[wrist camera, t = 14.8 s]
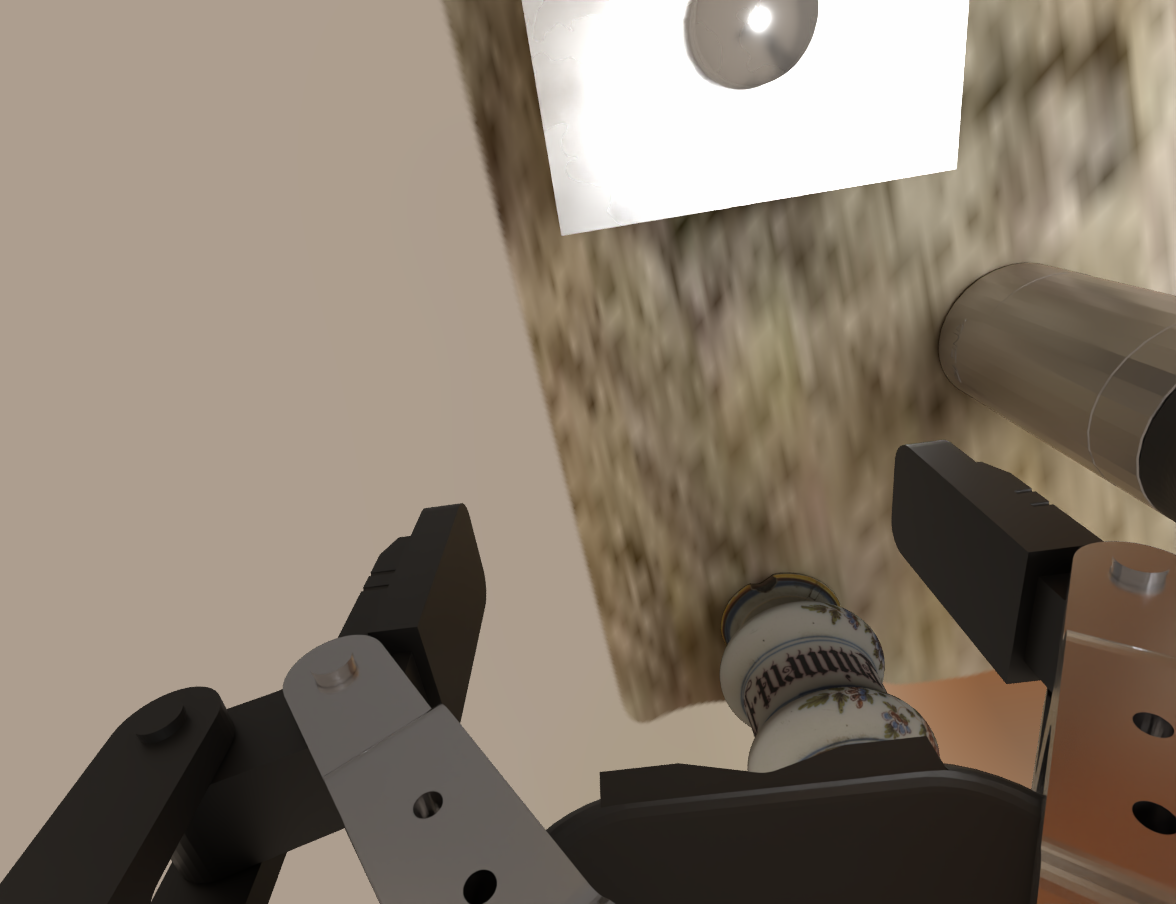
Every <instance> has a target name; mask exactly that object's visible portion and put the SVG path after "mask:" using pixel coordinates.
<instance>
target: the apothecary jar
mask: <svg viewBox="0 0 1176 904" xmlns="http://www.w3.org/2000/svg"><path fill="white" fill-rule="evenodd" d="M721 633H722V637H723V640H724V643H725V645H726V646H727V647H726V649H725V651H724V654H723V657H722V660H721V665H720V684H721V689H722V692H723V695H724V697H725V700H726V702H727V703H728V705H729V707H730V708H731V710H732V711H733V712H734V713H735V715H736V716H737V717H738V718H739V719H740V720H742V721H743V722H744V723H745V724H747V725H748V726H750V727H751V728H752V730H753V733H754V736H755V739H754V741H753V743H752V746H751V749H750V752H749V757H748V771H749V772H758V773H766V772H772V771H775V770H778V769H781V768H783V767H786V766H789V765H792V764H794V763H797V762H800V761H802V760H805V759H808V758H811V757H813V756H816V755H819V754H821V753H824V752H827V751H830V750H832V749H835V748H838V747H840V746H843V745H849V744H858V743H867V742H876V741H885V740H894V739H903V738H912V737H921V736H927V737H928V739H929V741H930V742H931V744H932V746H933V747H934V749H935V751H936V752H937V754H938V756H939V757H940V755H939V748H938V744H937V741H936V738H935V736H934V734H933V732H932V730H931V728H930V727H929V725H928V724H927V722H926V721H925V720H924V719H923V717H922V716H921V715H920V714H919V713H918V712H917V711H916V710H915V709H914V708H912V707H911V706H910V705H908V704H907V703H905V702H904V701H902V700H901V699H899V698H897V697H895V696H893V695H890V694H888V693H887V692H886V689H885V688H884V686H883V684H882V683H883V678H884V670H885V662H884V655H883V650H882V647H881V645H880V642H879V640H878V638H877V636H876V635H875V633H874V632H873V631H872V629H871V628H870V627H869V626H868V625H867V624H866V623H865V622H864V621H863V620H862V619H861V618H859V617H858V616H856V615H855V614H853V613H852V612H850V611H848V610H846V609H844V608H841V606H840V603H839V601H838V599H837V597H836V595H835V594H834V593H833V592H832V590H831V589H830V588H829V587H827V586H826V585H825V584H824V583H822V582H821V581H819V580H816V579H814V578H812V577H809V576H806V575H801V574H793V573H784V574H775V575H772V576H771V577H770V578H768V579H767V580H765V581H764V582H763V583H761V584H748V585H747V586H745V587H744V588H742V589H741V590H740V591H739V592H738V593H736V594H735V595H734V596H733V597H732V598H731V600H730V601H729V603H728V605H727V606H726V608H725V610H724V613H723V616H722V620H721Z"/></svg>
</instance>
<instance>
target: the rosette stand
mask: <svg viewBox="0 0 1176 904" xmlns="http://www.w3.org/2000/svg"><path fill="white" fill-rule="evenodd" d="M522 5H523V11H524V17H525V23H526V29H527V35H528V41H529V46H530V52H531V58H532V64H533V70H534V76H535V82H536V88H537V94H538V100H539V106H540V111H541V117H542V123H543V129H544V135H545V141H546V147H547V153H548V159H549V165H550V171H551V177H552V182H553V188H554V194H555V200H556V206H557V212H558V218H559V224H560V230H561V236H564V235H570V234H576V233H582V232H588V231H594V230H600V229H606V228H612V227H617V226H623V225H629V224H635V223H641V222H647V221H653V220H659V219H665V218H670V217H676V216H682V215H688V214H694V213H700V212H706V211H712V210H718V209H724V208H729V207H735V206H741V205H747V204H753V203H759V202H765V201H771V200H777V199H782V198H788V197H794V196H800V195H806V194H812V193H818V192H824V191H830V190H836V189H841V188H847V187H853V186H859V185H865V184H871V183H877V182H883V181H889V180H894V179H900V178H906V177H912V176H918V175H924V174H930V173H936V172H942V171H948V170H953V169H957V155H958V141H959V128H960V114H961V101H962V87H963V73H964V60H965V46H966V33H967V19H968V5H969V0H522Z"/></svg>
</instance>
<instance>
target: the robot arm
mask: <svg viewBox="0 0 1176 904" xmlns="http://www.w3.org/2000/svg"><path fill="white" fill-rule="evenodd" d="M939 358H940V362H941V365H942V369H943V371H944V373H945V374H946V376H947V378H948V379H949V381H950V382H952V383H953V384H954V385H955V386H956V387H957V388H958V389H959V390H961V391H963V392H964V393H966V394H968V395H969V396H971V397H973V398H974V399H976V400H977V401H979V402H981V403H982V404H984V405H986V406H987V407H989V408H990V409H992V410H993V411H995V412H996V413H998V414H1000V415H1001V416H1003V417H1004V418H1006V419H1008V420H1009V421H1011V422H1013V423H1014V424H1016V425H1017V426H1019V427H1021V428H1022V429H1024V430H1026V431H1027V432H1029V433H1030V434H1032V435H1034V436H1035V437H1037V438H1039V439H1040V440H1042V441H1044V442H1045V443H1047V444H1048V445H1050V446H1052V447H1053V448H1055V449H1057V450H1058V451H1060V452H1061V453H1063V454H1065V455H1066V456H1068V457H1070V458H1071V459H1073V460H1074V461H1076V462H1078V463H1079V464H1081V465H1083V466H1084V467H1086V468H1087V469H1089V470H1091V471H1092V472H1094V473H1096V474H1097V475H1099V476H1100V477H1102V478H1104V479H1105V480H1107V481H1109V482H1110V483H1112V484H1113V485H1115V486H1117V487H1119V488H1120V489H1122V490H1124V491H1125V492H1127V493H1129V494H1130V495H1132V496H1134V497H1135V498H1137V499H1138V500H1140V501H1142V502H1143V503H1145V504H1147V505H1148V506H1150V507H1151V508H1153V509H1155V510H1156V511H1158V512H1160V513H1161V514H1163V515H1164V516H1166V517H1168V518H1169V519H1171V520H1173V521H1174V522H1176V296H1174V295H1170V294H1166V293H1162V292H1157V291H1153V290H1149V289H1145V288H1140V287H1136V286H1132V285H1127V284H1123V283H1119V282H1115V281H1110V280H1106V279H1102V278H1097V277H1093V276H1090V275H1086V274H1082V273H1078V272H1073V271H1069V270H1065V269H1060V268H1056V267H1052V266H1048V265H1043V264H1037V263H1020V264H1013V265H1008V266H1006V267H1003V268H1000V269H997V270H994V271H993V272H991V273H989V274H987V275H985V276H984V277H982V278H980V279H979V280H978V281H976V282H975V283H974V284H973V285H971V286H970V287H969V288H968V289H966V291H965V292H964V293H963V294H962V295H961V296H960V297H959V299H958V300H957V301H956V302H955V303H954V305H953V307H952V308H951V310H950V312H949V313H948V315H947V317H946V319H945V322H944V324H943V327H942V329H941V334H940V340H939ZM892 532H893V536H894V540H895V543H896V545H897V547H898V549H899V551H900V553H901V554H902V556H903V557H904V558H905V559H906V561H907V562H908V563H909V564H910V566H911V567H912V568H913V569H914V570H915V572H916V573H917V574H918V575H919V577H920V578H921V579H922V580H923V582H924V583H925V584H926V585H927V587H928V588H929V589H930V590H931V591H932V593H933V594H934V595H935V596H936V598H937V599H938V600H939V601H940V603H941V604H942V605H943V606H944V608H945V609H946V610H947V611H948V612H949V614H950V615H951V616H952V617H953V619H954V620H955V621H956V622H957V624H958V625H959V626H960V627H961V629H962V630H963V631H964V632H965V633H966V635H967V636H968V637H969V638H970V640H971V641H972V642H973V643H974V645H975V646H976V647H977V648H978V650H979V651H980V652H981V653H982V654H983V656H984V657H985V658H986V659H987V661H988V662H989V663H990V664H991V666H992V667H993V668H994V669H995V671H996V672H997V673H998V674H999V675H1000V677H1001V678H1002V679H1003V680H1004V682H1005V683H1006V684H1011V683H1021V682H1029V681H1038V680H1041V681H1042V682H1043V683H1044V684H1045V685H1046V687H1047V691H1046V696H1045V701H1044V706H1043V712H1042V720H1041V726H1040V734H1039V741H1038V747H1037V754H1036V761H1035V768H1034V775H1033V781H1032V788H1031V789H1029V788H1026V787H1025V786H1022V785H1020V784H1018V783H1015V782H1012V781H1010V780H1007V779H1005V778H1002V777H1000V776H997V775H993V774H990V773H987V772H983V771H980V770H977V769H972V768H968V767H962V766H958V765H953V764H944V763H943V762H942V761H941V759H940V757H939V756H938V754H937V752H936V751H935V749H934V747H933V746H932V744H931V742H930V741H929V739H928V737H927V736H921V737H912V738H903V739H894V740H885V741H876V742H867V743H858V744H849V745H843V746H840V747H838V748H835V749H832V750H830V751H827V752H824V753H821V754H819V755H816V756H813V757H811V758H808V759H805V760H802V761H800V762H797V763H794V764H792V765H789V766H786V767H783V768H781V769H778V770H775V771H772V772H766V773H758V772H749V771H740V770H732V769H722V768H714V767H705V766H697V765H688V764H679V763H678V764H669V765H660V766H651V767H642V768H633V769H624V770H616V771H607V772H600V796H601V799H599V800H597V801H594V802H592V803H589V804H587V805H585V806H583V807H581V808H579V809H577V810H575V811H573V812H571V813H569V814H568V815H566V816H565V817H563V818H562V819H560V820H559V821H557V822H556V823H554V824H553V825H552V826H551V827H549V828H548V829H547V830H545V829H544V827H543V826H542V825H541V824H540V822H539V821H538V820H537V819H536V818H535V816H534V815H533V814H532V813H531V811H530V810H529V809H528V808H527V806H526V805H525V804H524V803H523V801H522V800H521V799H520V798H519V796H518V795H517V794H516V793H515V792H514V790H513V789H512V788H511V787H510V785H509V784H508V783H507V781H506V780H505V779H504V778H503V776H502V775H501V774H500V773H499V771H498V770H497V769H496V768H495V766H494V765H493V764H492V763H491V762H490V760H489V759H488V758H487V757H486V755H485V754H484V753H483V752H482V750H481V749H480V748H479V747H478V745H477V744H476V743H475V742H474V740H473V739H472V738H471V737H470V736H469V734H468V733H467V732H466V731H465V729H464V728H463V727H462V725H461V724H460V721H461V717H462V713H463V708H464V703H465V698H466V693H467V689H468V684H469V679H470V675H471V670H472V666H473V661H474V656H475V652H476V647H477V642H478V637H479V633H480V628H481V623H482V619H483V614H484V609H485V604H486V582H485V576H484V571H483V567H482V563H481V559H480V555H479V551H478V548H477V543H476V540H475V535H474V532H473V528H472V524H471V520H470V516H469V513H468V510H467V508H466V506H465V505H464V504H463V503H461V504H453V505H446V506H439V507H431V508H425V509H423V511H422V512H421V514H420V517H419V519H418V521H417V523H416V525H415V528H414V530H413V532H412V534H411V536H407V537H400V538H398V539H397V540H396V541H394V542H393V543H392V544H391V545H390V546H389V547H388V548H387V549H386V550H384V551H383V552H382V553H381V554H380V556H379V557H378V559H377V561H376V563H375V565H374V568H373V569H372V571H371V576H369V577H368V579H367V581H366V583H365V585H364V587H363V589H364V591H362V592H361V593H360V595H359V597H358V599H357V601H356V603H355V605H354V607H353V609H352V611H351V613H350V615H349V617H348V619H347V621H346V623H345V625H344V627H343V629H342V631H341V633H340V635H339V636H338V638H337V639H334V640H331V641H328V642H326V643H324V644H322V645H320V646H318V647H316V648H315V649H313V650H311V651H310V652H308V653H307V654H305V655H304V656H303V657H302V658H301V659H299V660H298V661H297V663H295V665H294V666H293V667H292V668H291V669H290V671H289V672H288V674H287V676H286V678H285V680H284V684H283V689H282V690H279V691H277V692H274V693H272V694H269V695H266V696H263V697H261V698H257V699H255V700H252V701H249V702H246V703H243V704H240V705H237V706H234V707H232V708H229V709H226V707H225V706H224V703H223V701H222V700H221V698H220V696H219V694H218V693H217V692H216V691H215V690H213V689H211V688H208V687H189V688H185V689H180V690H177V691H174V692H171V693H169V694H166V695H164V696H162V697H160V698H158V699H156V700H154V701H152V702H150V703H149V704H147V705H145V706H143V707H142V708H140V709H139V710H138V711H136V712H135V713H134V714H132V715H131V716H130V717H129V718H127V719H126V720H125V721H124V722H123V723H122V724H121V725H120V726H119V727H118V728H117V729H116V730H115V732H114V733H113V734H112V735H111V737H110V738H109V739H108V741H107V742H106V743H105V745H104V746H103V747H102V748H101V750H100V751H99V753H98V754H97V755H96V757H95V758H94V759H93V760H92V762H91V763H90V764H89V766H88V767H87V769H86V770H85V771H84V773H83V774H82V775H81V777H80V778H79V779H78V781H77V782H76V783H75V785H74V786H73V787H72V789H71V790H70V791H69V793H68V794H67V796H66V797H65V798H64V799H63V801H62V802H61V803H60V805H59V806H58V807H57V809H56V810H55V811H54V813H53V814H52V815H51V817H50V818H49V820H48V821H47V822H46V823H45V825H44V826H43V827H42V829H41V830H40V831H39V833H38V834H37V835H36V837H35V838H34V839H33V841H32V842H31V843H30V845H29V846H28V847H27V849H26V850H25V852H24V853H23V854H22V856H21V857H20V858H19V860H18V861H17V862H16V863H15V865H14V866H13V867H12V869H11V870H10V871H9V873H8V874H7V875H6V877H5V878H4V880H3V881H2V882H1V883H0V904H268V902H269V900H270V897H271V894H272V891H273V889H274V886H275V883H276V881H277V878H278V875H279V872H280V870H281V866H282V864H283V861H284V858H285V856H286V853H287V852H288V851H290V850H293V849H295V848H297V847H300V846H302V845H305V844H307V843H310V842H312V841H314V840H317V839H319V838H322V837H324V836H327V835H329V834H331V833H334V832H336V831H339V830H341V829H343V828H345V830H346V832H347V834H348V836H349V838H350V841H351V843H352V845H353V847H354V849H355V851H356V854H357V856H358V858H359V860H360V862H361V864H362V866H363V868H364V871H365V873H366V875H367V877H368V879H369V882H370V884H371V886H372V888H373V890H374V892H375V894H376V897H377V899H378V901H379V903H380V904H1176V555H1175V554H1173V553H1170V552H1168V551H1165V550H1162V549H1159V548H1155V547H1151V546H1147V545H1143V544H1138V543H1130V542H1119V541H1105V542H1104V541H1102V540H1101V539H1100V538H1098V537H1097V536H1096V535H1094V534H1093V533H1091V532H1090V531H1089V530H1087V529H1086V528H1085V527H1083V526H1082V525H1081V524H1079V523H1078V522H1076V521H1075V520H1074V519H1072V518H1071V517H1070V516H1068V515H1067V514H1066V513H1064V512H1063V511H1061V510H1060V509H1059V508H1057V507H1056V506H1055V505H1049V501H1048V500H1046V499H1045V498H1044V497H1042V496H1041V495H1040V494H1038V493H1037V492H1032V490H1031V488H1030V487H1029V486H1027V485H1026V484H1025V483H1023V482H1022V481H1021V480H1019V479H1018V478H1016V477H1015V476H1014V475H1012V474H1011V473H1009V472H1006V471H1004V470H1001V469H998V468H996V467H993V466H991V465H988V464H985V463H983V462H975V461H974V460H973V459H971V458H970V457H969V456H967V455H966V454H965V453H964V452H962V451H961V450H960V449H958V448H957V447H956V446H954V445H953V444H952V443H951V442H949V441H947V440H938V441H930V442H923V443H915V444H908V445H902V446H900V447H899V448H898V450H897V453H896V457H895V469H894V485H893V502H892ZM170 859H171V860H172V864H171V865H170V867H169V869H168V871H167V873H166V875H165V877H164V879H163V881H162V882H161V884H160V887H159V888H158V890H157V892H156V894H155V896H154V898H153V900H152V901H151V899H152V896H153V893H154V890H155V888H156V885H157V884H158V881H159V880H160V878H161V876H162V874H163V872H164V870H165V868H166V866H167V865H168V863H169V861H170Z"/></svg>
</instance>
